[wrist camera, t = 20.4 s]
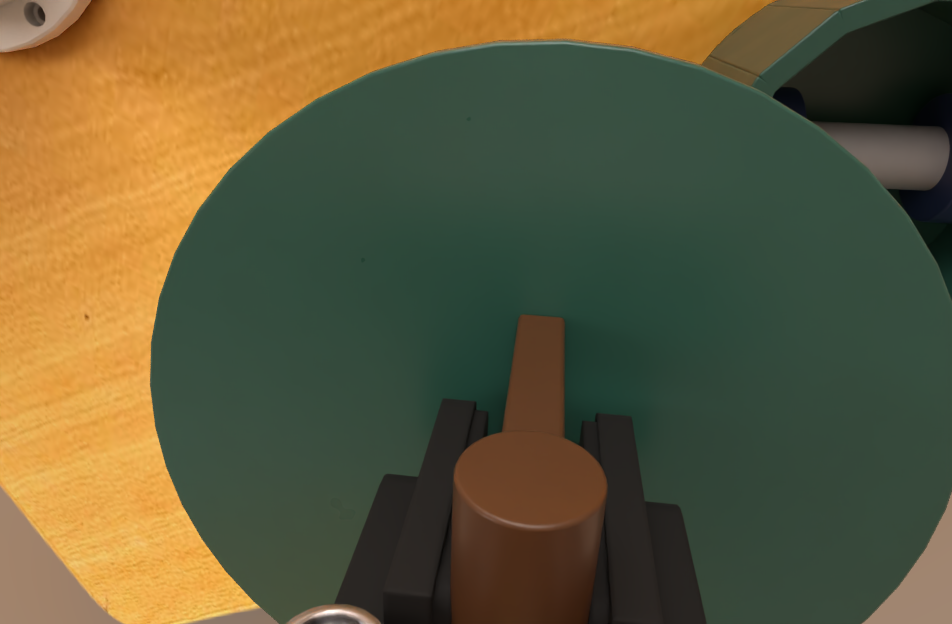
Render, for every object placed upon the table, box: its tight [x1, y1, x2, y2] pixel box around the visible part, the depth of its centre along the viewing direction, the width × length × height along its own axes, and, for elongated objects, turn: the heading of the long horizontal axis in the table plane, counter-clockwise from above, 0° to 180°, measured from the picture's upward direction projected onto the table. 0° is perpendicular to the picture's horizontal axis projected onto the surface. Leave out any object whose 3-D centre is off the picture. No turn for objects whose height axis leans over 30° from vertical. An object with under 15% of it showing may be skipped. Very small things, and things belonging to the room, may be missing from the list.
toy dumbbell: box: [772, 87, 952, 224], centre depth 24 cm, size 8×4×4 cm, turn 89°
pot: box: [701, 0, 952, 300], centre depth 23 cm, size 12×12×8 cm
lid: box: [150, 39, 952, 624], centre depth 10 cm, size 13×13×6 cm
